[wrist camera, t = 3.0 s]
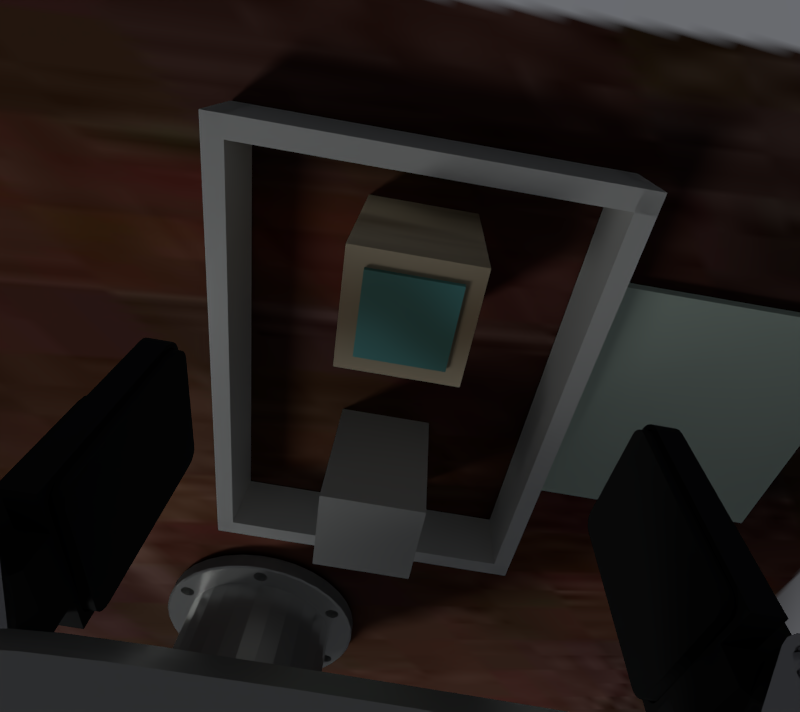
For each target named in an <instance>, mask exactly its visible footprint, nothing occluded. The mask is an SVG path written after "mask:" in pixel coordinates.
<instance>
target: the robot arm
mask: <svg viewBox="0 0 800 712" xmlns="http://www.w3.org/2000/svg"><path fill="white" fill-rule="evenodd" d="M193 454H194V440H193V429H192V418H191V407H190V397H189V386H188V375H187V364H186V356H185V353H184V352H183V351H179V350H178V347H177V345H176V344H175V343H174V342H169V341H163V340H157V339H151V338H143V339H142V340H141V341H140V342H139V343H138V344H137V345H136V346H135V347H134V348H133V349H132V350H131V351H130V352H129V353H128V354H127V355H126V356H125V357H124V358H123V359H122V360H121V361H120V362H119V363H118V364H117V365H116V366H115V367H114V368H113V369H112V370H111V371H110V372H109V373H108V374H107V376H106V377H105V378H104V379H103V380H102V381H101V382H100V383H99V384H98V385H97V386H96V387H95V388H94V389H93V390H92V391H91V392H90V393H89V394H88V395H87V396H84V397H83V398H82V399H80V400H79V401H78V402H77V403H76V404H75V405H74V406H73V407H72V408H71V409H70V410H69V411H68V412H67V413H66V414H65V415H64V416H63V417H62V418H61V419H60V420H59V421H58V422H57V423H56V424H55V425H54V426H53V427H52V428H51V429H50V430H49V431H48V432H47V434H46V435H45V436H44V437H43V438H42V439H41V440H40V441H39V442H38V443H37V444H36V445H35V446H34V447H33V448H32V449H31V450H30V451H29V452H28V453H27V454H26V455H25V456H24V457H23V458H22V459H21V460H20V461H19V462H18V463H17V464H16V465H15V466H14V467H13V468H12V469H11V470H10V471H9V472H8V473H7V474H6V475H5V476H4V477H3V478H2V479H1V480H0V712H566V711H560V710H554V709H548V708H542V707H536V706H530V705H524V704H518V703H512V702H506V701H500V700H494V699H488V698H482V697H475V696H469V695H463V694H457V693H451V692H444V691H438V690H432V689H426V688H420V687H413V686H407V685H401V684H395V683H389V682H382V681H376V680H370V679H364V678H357V677H351V676H345V675H339V674H332V673H326V672H322V668H323V667H325V666H327V665H329V664H331V663H333V662H334V661H335V660H337V659H338V658H339V657H341V656H342V654H343V653H344V652H345V651H346V649H347V648H348V645H349V642H350V640H351V633H352V626H353V620H352V613H351V610H350V608H349V606H348V604H347V602H346V600H345V599H344V598H343V597H342V595H341V594H340V593H339V591H338V590H336V589H335V588H334V587H333V586H332V585H331V584H330V583H328V582H327V581H326V580H324V579H323V578H321V577H320V576H318V575H317V574H315V573H313V572H312V571H309V570H307V569H305V568H303V567H301V566H298V565H296V564H293V563H290V562H287V561H284V560H280V559H276V558H271V557H265V556H259V555H244V554H240V555H225V556H220V557H216V558H211V559H207V560H205V561H203V562H200V563H198V564H195V565H194V566H192V567H191V568H189V569H188V570H186V571H185V572H184V573H183V574H182V575H181V577H180V578H179V579H178V580H177V582H176V584H175V587H174V589H173V591H172V593H171V595H170V598H169V603H168V610H169V616H170V618H171V621H172V623H173V625H174V627H175V628H176V630H177V631H178V632H179V635H178V637H177V640H176V642H175V644H174V646H173V649H172V648H166V647H159V646H152V645H145V644H138V643H130V642H123V641H116V640H109V639H101V638H94V637H87V636H79V635H72V634H65V633H55V632H54V631H55V629H56V628H57V626H58V625H62V626H68V627H75V628H81V629H84V628H85V626H86V624H87V623H88V621H89V619H90V618H91V616H92V614H93V613H94V611H99V612H100V611H102V610H103V609H104V608H105V607H106V606H107V604H108V603H109V601H110V600H111V598H112V596H113V595H114V593H115V591H116V590H117V588H118V586H119V584H120V583H121V581H122V579H123V578H124V576H125V574H126V572H127V571H128V569H129V567H130V566H131V564H132V562H133V561H134V559H135V557H136V555H137V554H138V552H139V550H140V549H141V547H142V545H143V544H144V542H145V540H146V538H147V537H148V535H149V533H150V532H151V530H152V528H153V526H154V525H155V523H156V521H157V520H158V518H159V516H160V515H161V513H162V511H163V509H164V508H165V506H166V504H167V503H168V501H169V499H170V497H171V496H172V494H173V492H174V491H175V489H176V487H177V486H178V484H179V482H180V480H181V479H182V477H183V475H184V474H185V472H186V470H187V468H188V467H189V465H190V463H191V461H192V458H193ZM588 531H589V535H590V538H591V542H592V545H593V549H594V553H595V556H596V560H597V564H598V567H599V571H600V574H601V578H602V582H603V585H604V589H605V592H606V596H607V600H608V603H609V607H610V610H611V614H612V618H613V621H614V625H615V628H616V632H617V636H618V639H619V643H620V646H621V650H622V654H623V657H624V661H625V664H626V668H627V672H628V675H629V679H630V682H631V686H632V689H633V692H634V693H635V695H636V696H637V697H638V698H639V699H642V700H643V703H644V707H645V710H646V712H800V634H798V633H797V634H794V635H791V633H790V631H789V629H788V628H787V626H786V624H785V621H787V619H788V617H787V615H786V614H785V612H784V610H783V609H782V607H781V605H780V603H779V602H778V600H777V598H776V596H775V595H774V593H773V591H772V589H771V588H770V586H769V584H768V582H767V581H766V579H765V577H764V575H763V574H762V572H761V570H760V568H759V567H758V565H757V563H756V561H755V560H754V558H753V556H752V554H751V553H750V551H749V549H748V547H747V546H746V544H745V542H744V540H743V539H742V537H741V535H740V533H739V532H738V530H737V528H736V526H735V525H734V523H733V521H732V519H731V518H730V516H729V514H728V513H727V511H726V509H725V507H724V506H723V504H722V502H721V500H720V499H719V497H718V495H717V493H716V492H715V490H714V488H713V486H712V485H711V483H710V481H709V479H708V478H707V476H706V474H705V472H704V471H703V469H702V467H701V465H700V464H699V462H698V460H697V458H696V457H695V455H694V453H693V451H692V450H691V448H690V446H689V444H688V443H687V441H686V439H685V437H684V436H683V434H682V433H681V431H680V430H678V429H676V428H670V427H664V426H658V425H653V424H648V425H646V426H645V427H644V428H643V429H642V430H640V429H639V430H636V431H635V432H634V433H633V435H632V437H631V438H630V440H629V442H628V444H627V446H626V448H625V450H624V451H623V453H622V455H621V457H620V459H619V461H618V463H617V464H616V466H615V468H614V470H613V472H612V474H611V475H610V477H609V479H608V481H607V483H606V485H605V487H604V488H603V490H602V492H601V494H600V496H599V498H598V499H597V501H596V503H595V505H594V507H593V509H592V511H591V512H590V515H589V519H588Z"/></svg>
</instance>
